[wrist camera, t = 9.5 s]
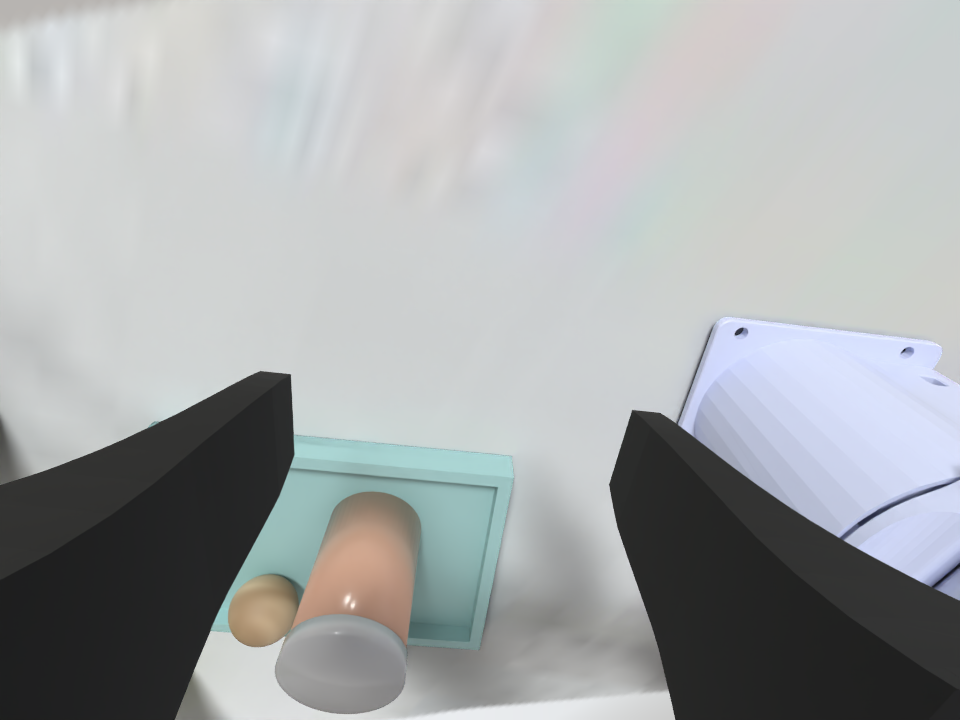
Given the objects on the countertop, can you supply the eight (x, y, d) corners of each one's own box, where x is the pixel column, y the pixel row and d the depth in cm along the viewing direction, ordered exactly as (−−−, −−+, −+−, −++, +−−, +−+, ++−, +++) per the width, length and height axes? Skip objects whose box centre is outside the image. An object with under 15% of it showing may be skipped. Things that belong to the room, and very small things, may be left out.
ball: (306, 562, 26) (284, 620, 23) (307, 605, 27) (288, 664, 24) (241, 557, 25) (211, 615, 22) (246, 600, 27) (219, 659, 24)
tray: (511, 456, 23) (513, 477, 22) (479, 624, 29) (479, 650, 27) (153, 421, 22) (133, 441, 21) (189, 603, 28) (175, 628, 26)
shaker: (428, 496, 24) (411, 642, 17) (417, 565, 26) (398, 719, 19) (329, 484, 23) (274, 629, 17) (326, 554, 25) (275, 707, 19)
